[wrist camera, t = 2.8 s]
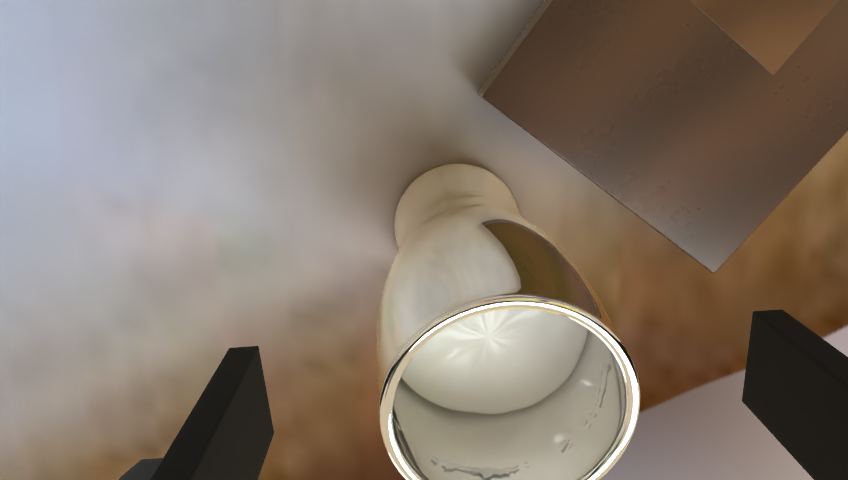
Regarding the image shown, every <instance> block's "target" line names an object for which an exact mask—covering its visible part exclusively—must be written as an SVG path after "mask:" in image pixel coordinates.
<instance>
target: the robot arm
mask: <svg viewBox="0 0 848 480" xmlns="http://www.w3.org/2000/svg"><path fill="white" fill-rule="evenodd" d="M742 401H743V403H744V404H745V405H746V406H747V407H748V408H749V409H750V410H751V411H752V412H753V413H754V415H755V416H756V417H757V418H758V419H759V420H760V421H761V422H762V423H763V424H764V425H765V426H766V428H767V429H768V430H769V431H770V432H771V433H772V434H773V435H774V436H775V437H776V439H777V440H778V441H779V442H780V443H781V444H782V445H783V446H784V447H785V448H786V449H787V451H788V452H789V453H790V454H791V455H792V456H793V457H794V458H795V459H796V460H797V462H798V463H799V464H800V465H801V466H802V467H803V468H804V469H805V470H806V471H807V472H808V473H809V475H810V476H811V477H812V478H813V479H814V480H848V357H847V356H845V355H844V354H843V353H841V352H840V351H838V350H837V349H836V348H834V347H833V346H832V345H830V344H829V343H828V342H826V341H825V340H823V339H822V338H821V337H819V336H818V335H817V334H815V333H814V332H812V331H811V330H810V329H808V328H807V327H805V326H804V325H803V324H801V323H800V322H799V321H797V320H796V319H794V318H793V317H792V316H790V315H789V314H788V313H786V312H785V311H783V310H768V311H754V312H753V316H752V324H751V332H750V341H749V349H748V357H747V365H746V373H745V381H744V389H743V398H742ZM273 434H274V431H273V425H272V419H271V414H270V408H269V403H268V397H267V392H266V386H265V381H264V375H263V369H262V364H261V358H260V353H259V347H258V346H252V347H238V348H229V350H228V352H227V353H226V355H225V357H224V358H223V360H222V361H221V363H220V365H219V366H218V368H217V370H216V371H215V373H214V375H213V376H212V378H211V380H210V381H209V383H208V385H207V386H206V388H205V390H204V391H203V393H202V395H201V396H200V398H199V400H198V401H197V403H196V405H195V406H194V408H193V410H192V411H191V413H190V415H189V416H188V418H187V420H186V421H185V423H184V425H183V426H182V428H181V430H180V431H179V433H178V435H177V436H176V438H175V440H174V441H173V443H172V445H171V446H170V448H169V450H168V451H167V453H166V455H165V456H164V458H158V459H143V460H141V461H139V462H138V463H137V464H136V465H135V466H133V467H132V468H131V469H130V470H129V471H127V472H126V473H125V474H124V475H123V476H121V477H120V479H119V480H257V479H258V477H259V474H260V471H261V468H262V465H263V463H264V460H265V457H266V454H267V451H268V449H269V446H270V443H271V440H272V437H273Z"/></svg>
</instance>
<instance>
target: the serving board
mask: <svg viewBox="0 0 848 480" xmlns="http://www.w3.org/2000/svg"><path fill="white" fill-rule="evenodd" d="M478 94H479V95H480V96H481V97H482V98H484V99H485V100H486V101H488V102H489V103H490V104H492V105H493V106H494V107H496V108H497V109H498V110H499V111H501V112H502V113H503V114H505V115H506V116H507V117H509V118H510V119H511V120H513V121H514V122H515V123H516V124H518V125H519V126H520V127H522V128H523V129H524V130H526V131H527V132H528V133H530V134H531V135H532V136H533V137H535V138H536V139H537V140H539V141H540V142H541V143H543V144H544V145H545V146H547V147H548V148H549V149H550V150H552V151H553V152H554V153H556V154H557V155H558V156H560V157H561V158H562V159H564V160H565V161H566V162H567V163H569V164H570V165H571V166H573V167H574V168H575V169H577V170H578V171H579V172H581V173H582V174H583V175H584V176H586V177H587V178H588V179H590V180H591V181H592V182H594V183H595V184H596V185H598V186H599V187H600V188H601V189H603V190H604V191H605V192H607V193H608V194H609V195H611V196H612V197H613V198H615V199H616V200H617V201H618V202H620V203H621V204H622V205H624V206H625V207H626V208H628V209H629V210H630V211H632V212H633V213H634V214H635V215H637V216H638V217H639V218H641V219H642V220H643V221H645V222H646V223H647V224H649V225H650V226H651V227H652V228H654V229H655V230H656V231H658V232H659V233H660V234H662V235H663V236H664V237H666V238H667V239H668V240H669V241H671V242H672V243H673V244H675V245H676V246H677V247H679V248H680V249H681V250H683V251H684V252H685V253H686V254H688V255H689V256H690V257H692V258H693V259H694V260H696V261H697V262H698V263H700V264H701V265H702V266H704V267H705V268H706V269H708V270H709V271H710V272H712V273H715V272H716V271H717V270H718V269H719V267H720V266H721V265H722V264H723V263H724V262H725V261H726V260H727V259H728V258H729V257H730V256H731V255H732V254H733V253H734V251H735V250H736V249H737V248H738V247H739V246H740V245H741V244H742V243H743V242H744V241H745V240H746V239H747V238H748V237H749V235H750V234H751V233H752V232H753V231H754V230H755V229H756V228H757V227H758V226H759V225H760V224H761V223H762V222H763V221H764V219H765V218H766V217H767V216H768V215H769V214H770V213H771V212H772V211H773V210H774V209H775V208H776V207H777V206H778V205H779V203H780V202H781V201H782V200H783V199H784V198H785V197H786V196H787V195H788V194H789V193H790V192H791V191H792V190H793V189H794V187H795V186H796V185H797V184H798V183H799V182H800V181H801V180H802V179H803V178H804V177H805V176H806V175H807V174H808V172H809V171H810V170H811V169H812V168H813V167H814V166H815V165H816V164H817V163H818V162H819V161H820V160H821V159H822V158H823V156H824V155H825V154H826V153H827V152H828V151H829V150H830V149H831V148H832V147H833V146H834V145H835V144H836V143H837V142H838V140H839V139H840V138H841V137H842V136H843V135H844V134H845V133H846V132H847V131H848V0H545V1H544V2H543V3H542V5H541V6H540V7H539V9H538V10H537V12H536V13H535V14H534V16H533V17H532V18H531V20H530V21H529V22H528V24H527V25H526V27H525V28H524V29H523V31H522V32H521V33H520V35H519V36H518V37H517V39H516V40H515V42H514V43H513V44H512V46H511V47H510V48H509V50H508V51H507V52H506V54H505V55H504V57H503V58H502V59H501V61H500V62H499V63H498V65H497V66H496V67H495V69H494V70H493V72H492V73H491V74H490V76H489V77H488V78H487V80H486V81H485V82H484V84H483V85H482V87H481V88H480V89H479V91H478Z"/></svg>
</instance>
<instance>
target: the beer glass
mask: <svg viewBox="0 0 848 480" xmlns="http://www.w3.org/2000/svg"><path fill="white" fill-rule="evenodd" d="M394 231H395V238H396V242H397V245H398V248H399V251H398V253H397V255H396V257H395V259H394V261H393V263H392V265H391V268H390V270H389V273H388V276H387V279H386V282H385V284H384V287H383V290H382V294H381V299H380V306H379V312H378V319H377V329H376V364H377V381H378V391H379V426H380V432H381V436H382V440H383V443H384V446H385V449H386V451H387V453H388V455H389V457H390V459H391V461H392V463H393V464H394V466H395V467H396V469H397V470H398V471H399V473H400V474H401V475H402V476H403V477H404V478H405V479H406V480H600V479H601V478H603V477H604V476H605V475H606V474H607V473H608V472H609V471H610V470H611V468H612V467H613V466H614V465H615V464H616V462H617V461H618V460H619V458H620V457H621V456H622V454H623V453H624V451H625V449H626V448H627V446H628V444H629V442H630V440H631V437H632V435H633V433H634V430H635V427H636V424H637V420H638V415H639V409H640V387H639V380H638V376H637V372H636V369H635V366H634V363H633V361H632V359H631V356H630V354H629V353H628V351H627V349H626V348H625V346H624V345H623V343H622V342H621V340H620V339H619V338H618V336H617V334H616V332H615V330H614V327H613V325H612V323H611V321H610V319H609V317H608V316H607V314H606V312H605V310H604V308H603V306H602V304H601V302H600V301H599V299H598V297H597V295H596V294H595V292H594V291H593V289H592V287H591V286H590V284H589V283H588V281H587V280H586V278H585V276H584V275H583V273H582V272H581V271H580V269H579V268H578V267H577V265H576V264H575V263H574V262H573V261H572V260H571V258H570V257H569V256H568V255H567V254H566V252H565V251H564V250H563V249H562V248H561V247H560V246H559V245H558V244H557V243H556V242H555V241H554V240H553V239H551V238H550V237H549V236H548V235H546V234H545V233H544V232H543V231H541V230H540V229H539V228H538V227H536V226H535V225H533V224H532V223H530V222H529V221H527V220H525V219H524V218H522V217H520V216H519V210H518V207H517V204H516V201H515V199H514V197H513V195H512V193H511V192H510V190H509V189H508V187H507V186H506V185H505V184H504V183H503V182H502V181H501V180H500V179H499V178H498V177H497V176H495V175H494V174H493V173H491V172H489V171H487V170H485V169H483V168H481V167H478V166H474V165H469V164H448V165H443V166H439V167H436V168H434V169H431V170H429V171H427V172H426V173H424V174H422V175H421V176H419V177H418V178H417V179H416V180H415V181H413V182H412V183H411V184H410V186H409V187H408V188H407V189H406V191H405V192H404V193H403V195H402V197H401V199H400V201H399V203H398V206H397V209H396V213H395V219H394Z"/></svg>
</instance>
